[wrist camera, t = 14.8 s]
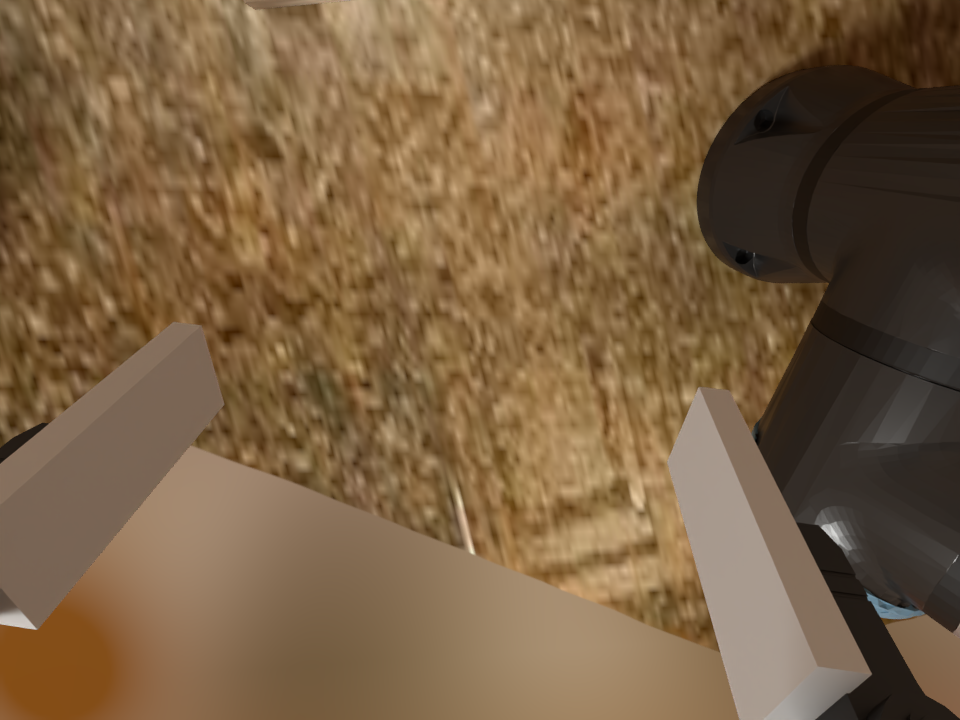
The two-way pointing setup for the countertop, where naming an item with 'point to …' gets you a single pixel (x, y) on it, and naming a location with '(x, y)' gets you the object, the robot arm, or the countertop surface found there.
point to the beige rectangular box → (283, 3)
